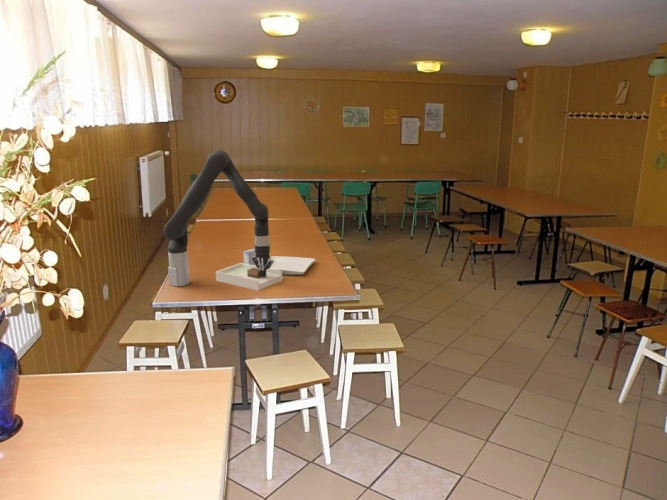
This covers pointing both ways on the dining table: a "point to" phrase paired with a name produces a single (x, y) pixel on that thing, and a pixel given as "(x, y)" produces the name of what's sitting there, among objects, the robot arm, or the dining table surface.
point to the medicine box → (249, 256)
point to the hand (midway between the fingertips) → (263, 276)
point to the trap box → (240, 277)
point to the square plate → (291, 264)
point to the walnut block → (254, 273)
